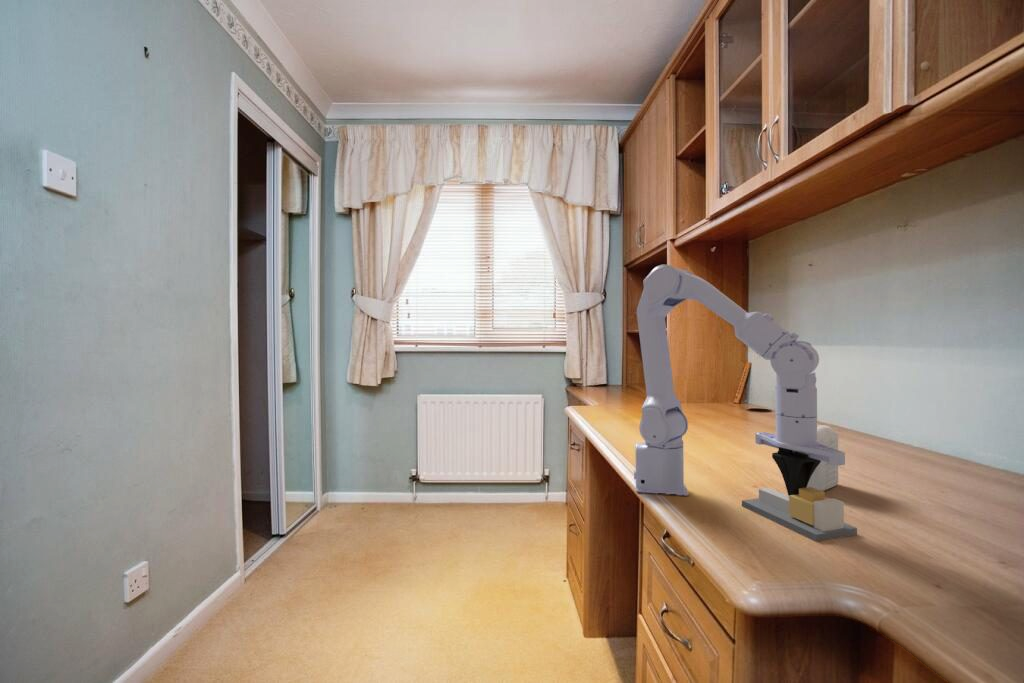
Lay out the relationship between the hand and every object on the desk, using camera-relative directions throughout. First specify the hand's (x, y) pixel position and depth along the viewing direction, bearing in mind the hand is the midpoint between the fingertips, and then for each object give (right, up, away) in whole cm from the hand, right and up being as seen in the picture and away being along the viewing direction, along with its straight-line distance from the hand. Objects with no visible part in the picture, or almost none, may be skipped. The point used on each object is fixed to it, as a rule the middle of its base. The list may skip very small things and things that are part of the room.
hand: (796, 497), depth 71 cm
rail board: (0, -4, 0) cm, 4 cm away
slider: (+1, -2, -3) cm, 4 cm away
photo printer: (+15, -4, +15) cm, 22 cm away
